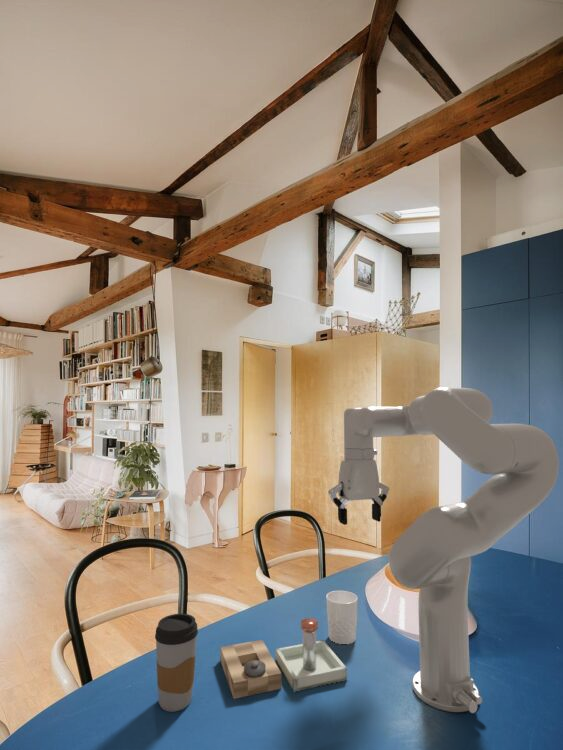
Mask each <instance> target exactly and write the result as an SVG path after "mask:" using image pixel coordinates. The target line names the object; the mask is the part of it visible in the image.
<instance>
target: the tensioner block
mask: <svg viewBox="0 0 563 750" xmlns="http://www.w3.org/2000/svg"><path fill="white" fill-rule="evenodd" d="M219 647H220V651H219V652H220V654H219V659H220V660H219V661H220V664H221V667H222V669H223V674H224V675H225V678H226V681H227V684H228V687H229V689H230V692H231V695H232V697H233V699H234V700H236V699H240V698H245V697H249V696H254V695H257V694H262V693H268V692H272V691H276V690H281V689H282V671H281V669H280V667H279V666H278V664H277V662H276V660H275V659H274V658H273V656H272V654H271V653H270V652H271V651H269V649H268V647H267V646H266V644H265V642H264V640H263V639H258V640H252V641H247V642H242V643H236V644H230V645H224V646H219Z"/></svg>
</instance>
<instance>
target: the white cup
mask: <svg viewBox="0 0 563 750" xmlns="http://www.w3.org/2000/svg"><path fill="white" fill-rule="evenodd" d="M325 598H326V599H325V600H326V618H327V619H326V620H327V626H328V628H327V629H328V638H329V640H330V641H331V642H332V641H333V642H332V643H334V642H335V643H334V644H337V643H338V645H341V644H347V645H351V644H353V643H354V642H356V639H357V638H356V637H357V635H356V634H357V624H358V595H357V594H355V593H353V592H351V591H347V590H332V591H329V592H328V593H326V596H325Z"/></svg>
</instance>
